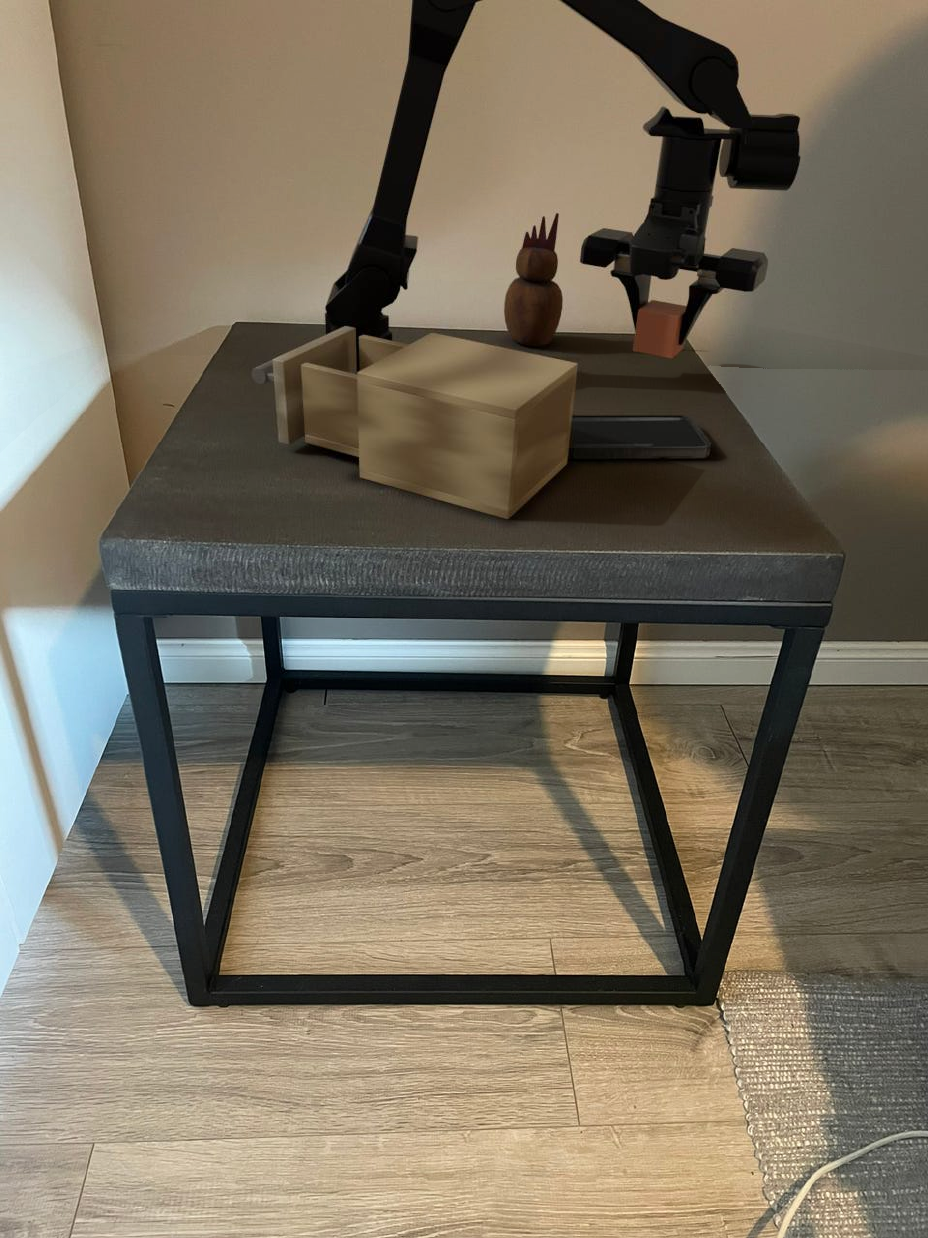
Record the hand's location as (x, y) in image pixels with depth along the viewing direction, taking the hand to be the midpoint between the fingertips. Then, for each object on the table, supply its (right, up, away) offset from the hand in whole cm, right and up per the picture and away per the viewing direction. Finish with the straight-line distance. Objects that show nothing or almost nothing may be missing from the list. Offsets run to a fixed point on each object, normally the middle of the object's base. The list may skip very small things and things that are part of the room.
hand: (659, 339), depth 104 cm
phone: (-6, -14, -12) cm, 19 cm away
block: (0, -1, +1) cm, 1 cm away
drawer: (-32, -13, -15) cm, 37 cm away
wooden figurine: (-13, +3, +12) cm, 18 cm away
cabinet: (-21, -17, -18) cm, 33 cm away
